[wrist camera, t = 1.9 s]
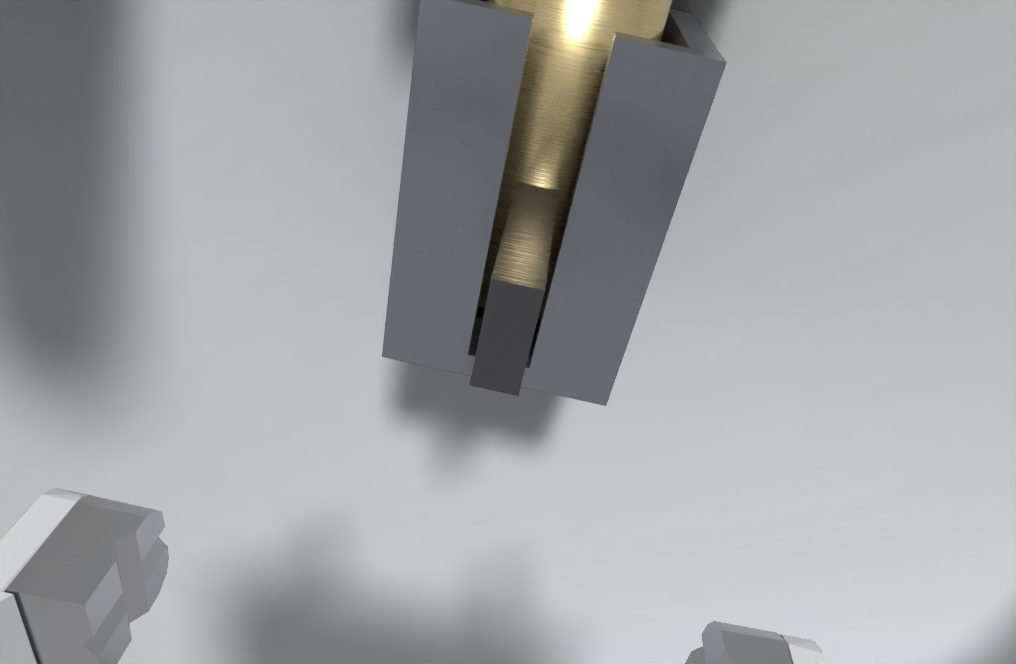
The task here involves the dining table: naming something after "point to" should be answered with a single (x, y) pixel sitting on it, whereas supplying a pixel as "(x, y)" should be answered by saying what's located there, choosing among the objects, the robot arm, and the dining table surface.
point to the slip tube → (546, 167)
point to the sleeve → (594, 205)
